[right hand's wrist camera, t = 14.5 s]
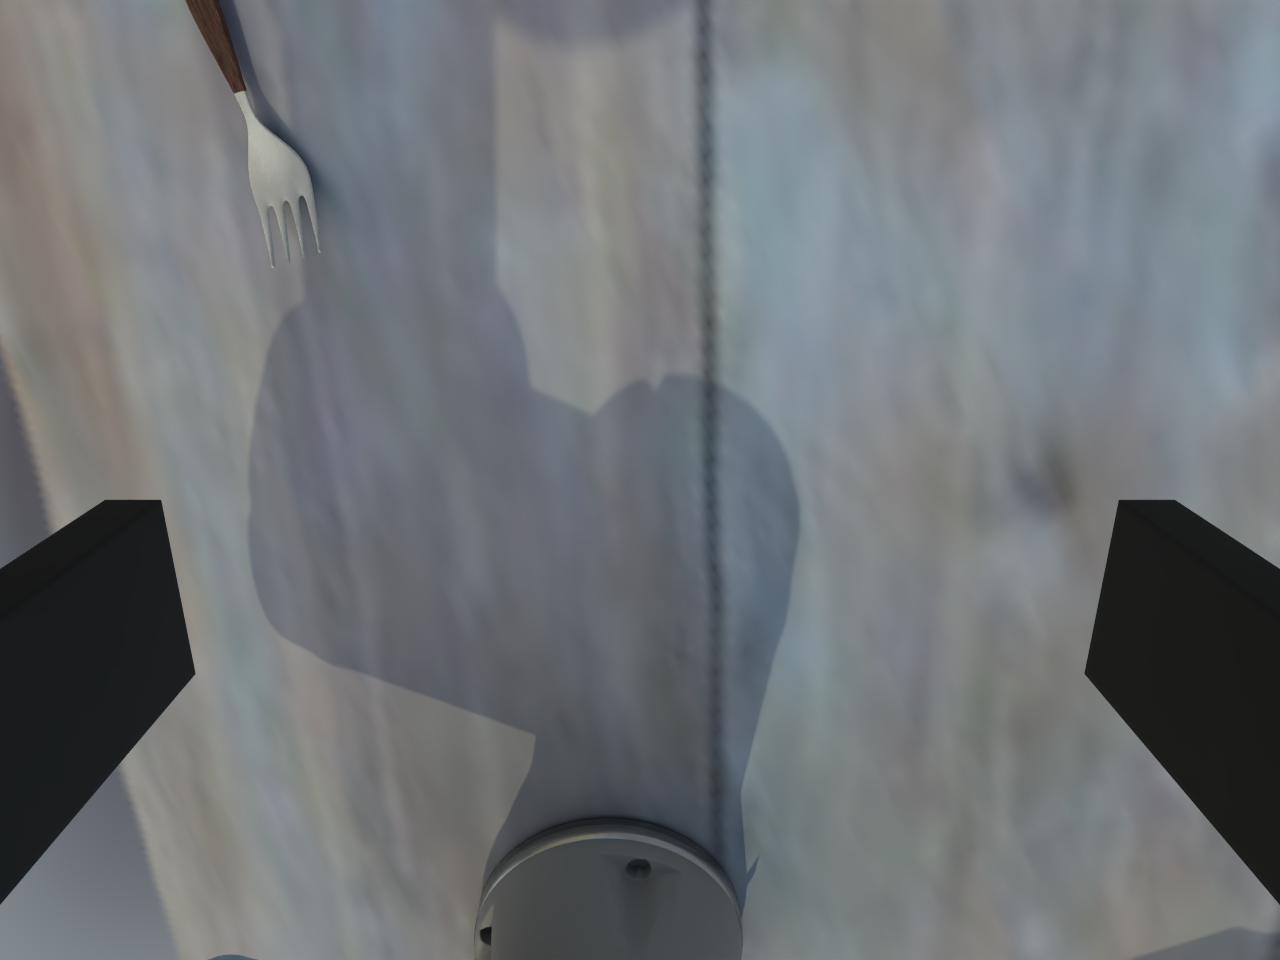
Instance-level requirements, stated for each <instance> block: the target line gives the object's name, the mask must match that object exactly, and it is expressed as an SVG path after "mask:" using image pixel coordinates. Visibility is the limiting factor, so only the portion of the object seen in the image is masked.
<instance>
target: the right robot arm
mask: <svg viewBox="0 0 1280 960" xmlns="http://www.w3.org/2000/svg"><path fill="white" fill-rule="evenodd" d="M194 675H195V669H194V664H193V659H192V654H191V649H190V644H189V639H188V634H187V629H186V624H185V618H184V613H183V608H182V603H181V598H180V593H179V588H178V583H177V578H176V573H175V568H174V563H173V558H172V553H171V548H170V543H169V538H168V533H167V528H166V522H165V517H164V512H163V507H162V502H161V500H104V501H103V502H101V503H100V504H98V505H97V506H95V507H94V508H92V509H91V510H89V511H88V512H86V513H85V514H83V515H82V516H80V517H78V518H77V519H75V520H74V521H72V522H71V523H69V524H68V525H66V526H65V527H63V528H62V529H60V530H59V531H57V532H56V533H54V534H53V535H51V536H50V537H48V538H47V539H45V540H44V541H42V542H41V543H39V544H37V545H36V546H34V547H33V548H31V549H30V550H28V551H27V552H25V553H24V554H22V555H21V556H19V557H18V558H16V559H15V560H13V561H12V562H10V563H9V564H7V565H6V566H4V567H2V568H1V569H0V904H1V903H2V902H3V901H4V899H5V898H6V897H7V896H8V895H9V894H10V892H11V891H12V890H13V889H14V888H15V887H16V885H17V884H18V883H19V882H20V881H21V879H22V878H23V877H24V876H25V875H26V873H27V872H28V871H29V870H30V869H31V868H32V866H33V865H34V864H35V863H36V862H37V861H38V859H39V858H40V857H41V856H42V855H43V853H44V852H45V851H46V850H47V849H48V847H49V846H50V845H51V844H52V843H53V842H54V840H55V839H56V838H57V837H58V836H59V834H60V833H61V832H62V831H63V830H64V829H65V827H66V826H67V825H68V824H69V823H70V821H71V820H72V819H73V818H74V817H75V816H76V814H77V813H78V812H79V811H80V810H81V808H82V807H83V806H84V805H85V804H86V803H87V801H88V800H89V799H90V798H91V797H92V795H93V794H94V793H95V792H96V791H97V790H98V788H99V787H100V786H101V785H102V784H103V782H104V781H105V780H106V779H107V778H108V777H109V775H110V774H111V773H112V772H113V771H114V769H115V768H116V767H117V766H118V765H119V764H120V762H121V761H122V760H123V759H124V758H125V756H126V755H127V754H128V753H129V752H130V751H131V749H132V748H133V747H134V746H135V745H136V743H137V742H138V741H139V740H140V739H141V738H142V736H143V735H144V734H145V733H146V732H147V730H148V729H149V728H150V727H151V726H152V725H153V723H154V722H155V721H156V720H157V719H158V717H159V716H160V715H161V714H162V713H163V712H164V710H165V709H166V708H167V707H168V706H169V704H170V703H171V702H172V701H173V700H174V699H175V697H176V696H177V695H178V694H179V693H180V691H181V690H182V689H183V688H184V687H185V686H186V684H187V683H188V682H189V681H190V680H191V678H192V677H193V676H194ZM1085 675H1086V676H1087V677H1088V678H1089V680H1090V681H1091V682H1092V683H1093V684H1094V686H1095V687H1096V688H1097V689H1098V690H1099V691H1100V693H1101V694H1102V695H1103V696H1104V697H1105V699H1106V700H1107V701H1108V702H1109V703H1110V704H1111V706H1112V707H1113V708H1114V709H1115V710H1116V712H1117V713H1118V714H1119V715H1120V716H1121V717H1122V719H1123V720H1124V721H1125V722H1126V723H1127V725H1128V726H1129V727H1130V728H1131V729H1132V730H1133V732H1134V733H1135V734H1136V735H1137V736H1138V738H1139V739H1140V740H1141V741H1142V742H1143V743H1144V745H1145V746H1146V747H1147V748H1148V749H1149V751H1150V752H1151V753H1152V754H1153V755H1154V756H1155V758H1156V759H1157V760H1158V761H1159V762H1160V764H1161V765H1162V766H1163V767H1164V768H1165V769H1166V771H1167V772H1168V773H1169V774H1170V775H1171V777H1172V778H1173V779H1174V780H1175V781H1176V782H1177V784H1178V785H1179V786H1180V787H1181V788H1182V790H1183V791H1184V792H1185V793H1186V794H1187V795H1188V797H1189V798H1190V799H1191V800H1192V801H1193V803H1194V804H1195V805H1196V806H1197V807H1198V808H1199V810H1200V811H1201V812H1202V813H1203V814H1204V816H1205V817H1206V818H1207V819H1208V820H1209V821H1210V823H1211V824H1212V825H1213V826H1214V827H1215V829H1216V830H1217V831H1218V832H1219V833H1220V835H1221V836H1222V837H1223V838H1224V839H1225V840H1226V842H1227V843H1228V844H1229V845H1230V846H1231V848H1232V849H1233V850H1234V851H1235V852H1236V853H1237V855H1238V856H1239V857H1240V858H1241V859H1242V861H1243V862H1244V863H1245V864H1246V865H1247V866H1248V868H1249V869H1250V870H1251V871H1252V872H1253V874H1254V875H1255V876H1256V877H1257V878H1258V879H1259V881H1260V882H1261V883H1262V884H1263V885H1264V887H1265V888H1266V889H1267V890H1268V891H1269V892H1270V894H1271V895H1272V896H1273V897H1274V898H1275V900H1276V901H1277V902H1278V903H1279V904H1280V569H1279V568H1278V567H1276V566H1274V565H1273V564H1271V563H1270V562H1268V561H1267V560H1265V559H1264V558H1262V557H1261V556H1259V555H1258V554H1256V553H1255V552H1253V551H1252V550H1250V549H1249V548H1247V547H1246V546H1244V545H1243V544H1241V543H1240V542H1238V541H1236V540H1235V539H1233V538H1232V537H1230V536H1229V535H1227V534H1226V533H1224V532H1223V531H1221V530H1220V529H1218V528H1217V527H1215V526H1214V525H1212V524H1211V523H1209V522H1208V521H1206V520H1205V519H1203V518H1202V517H1200V516H1198V515H1197V514H1195V513H1194V512H1192V511H1191V510H1189V509H1188V508H1186V507H1185V506H1183V505H1182V504H1180V503H1179V502H1177V501H1176V500H1119V502H1118V507H1117V512H1116V517H1115V522H1114V528H1113V533H1112V538H1111V543H1110V548H1109V553H1108V558H1107V563H1106V568H1105V573H1104V578H1103V583H1102V588H1101V593H1100V598H1099V603H1098V608H1097V613H1096V618H1095V624H1094V629H1093V634H1092V639H1091V644H1090V649H1089V654H1088V659H1087V664H1086V669H1085ZM474 941H475V958H476V960H741V954H742V945H743V937H742V926H741V918H740V910H739V905H738V900H737V897H736V894H735V891H734V889H733V886H732V884H731V882H730V880H729V879H728V877H727V875H726V874H725V872H724V871H723V870H722V868H721V867H720V866H719V864H718V863H717V862H716V861H715V860H714V859H713V858H712V857H711V856H710V855H709V854H708V853H707V852H705V851H704V850H703V849H702V848H701V847H699V846H698V845H696V844H695V843H693V842H692V841H690V840H689V839H687V838H685V837H683V836H681V835H680V834H677V833H675V832H673V831H671V830H668V829H666V828H663V827H660V826H657V825H653V824H650V823H646V822H641V821H635V820H629V819H618V818H599V819H587V820H580V821H575V822H570V823H566V824H562V825H559V826H556V827H553V828H550V829H548V830H546V831H543V832H541V833H539V834H537V835H535V836H533V837H531V838H529V839H528V840H526V841H525V842H523V843H522V844H520V845H519V846H517V847H516V848H515V849H514V850H512V851H511V852H510V853H509V854H508V855H507V856H506V857H505V858H504V859H503V860H502V861H501V862H500V863H499V865H498V866H497V867H496V868H495V870H494V871H493V873H492V874H491V876H490V878H489V879H488V882H487V884H486V886H485V888H484V891H483V894H482V897H481V901H480V906H479V911H478V915H477V920H476V925H475V935H474ZM209 960H256V959H252V958H248V957H244V956H241V955H222V956H217V957H215V958H212V959H209Z"/></svg>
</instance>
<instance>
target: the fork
mask: <svg viewBox="0 0 1280 960" xmlns="http://www.w3.org/2000/svg"><path fill="white" fill-rule="evenodd" d="M186 2H187V5H188V7H189V9H190V11H191V13H192V16H193V18H194V20H195V22H196V24H197V26H198V28H199V29H200V31H201V33H202V35H203V37H204V39H205V41H206V43H207V45H208V46H209V48H210V50H211V52H212V54H213V56H214V57H215V59H216V61H217V63H218V65H219V67H220V68H221V70H222V72H223V74H224V76H225V78H226V80H227V81H228V83H229V85H230V87H231V89H232V91H233V93H234V94H235V96H236V98H237V100H238V102H239V104H240V106H241V108H242V111H243V113H244V115H245V118H246V122H247V127H248V170H249V178H250V184H251V188H252V192H253V195H254V198H255V201H256V204H257V207H258V210H259V213H260V217H261V221H262V224H263V229H264V233H265V237H266V241H267V245H268V250H269V254H270V259H271V266H272V268H275V262H274V253H273V243H272V235H271V227H270V220H269V207H270V206H273V207H274V209H275V212H276V215H277V218H278V223H279V227H280V231H281V235H282V239H283V243H284V247H285V252H286V256H287V261H288V263H290V253H289V244H288V236H287V228H286V220H285V214H284V202H285V201H288V202H289V204H290V206H291V209H292V212H293V216H294V220H295V224H296V228H297V232H298V236H299V241H300V245H301V249H302V254H303V257H304V258H306V254H305V244H304V236H303V228H302V220H301V213H300V206H299V198H300V196H304V198H305V200H306V203H307V206H308V210H309V214H310V217H311V221H312V225H313V229H314V233H315V237H316V242H317V246H318V252H319V253H322V251H321V244H320V235H319V227H318V219H317V212H316V206H315V200H314V194H313V188H312V183H311V178H310V174H309V171H308V169H307V167H306V165H305V163H304V162H303V160H302V159H301V157H300V156H299V155H298V154H297V153H296V152H295V151H294V150H293V149H292V148H291V147H290V146H289V145H287V144H286V143H285V142H284V141H283V140H281V139H280V138H279V137H277V136H276V135H275V134H274V133H272V132H271V131H270V130H269V129H268V128H267V127H265V126H264V125H263V124H262V123H261V121H260V120H259V119H258V118H257V116H256V114H255V112H254V110H253V108H252V105H251V103H250V100H249V97H248V94H247V90H246V87H245V84H244V81H243V77H242V74H241V71H240V67H239V64H238V61H237V57H236V54H235V51H234V47H233V44H232V41H231V37H230V34H229V31H228V28H227V25H226V22H225V19H224V16H223V13H222V10H221V7H220V5H219V2H218V0H186Z"/></svg>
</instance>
